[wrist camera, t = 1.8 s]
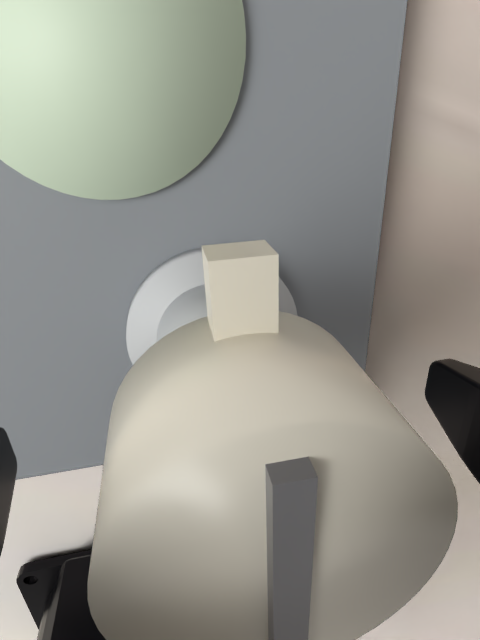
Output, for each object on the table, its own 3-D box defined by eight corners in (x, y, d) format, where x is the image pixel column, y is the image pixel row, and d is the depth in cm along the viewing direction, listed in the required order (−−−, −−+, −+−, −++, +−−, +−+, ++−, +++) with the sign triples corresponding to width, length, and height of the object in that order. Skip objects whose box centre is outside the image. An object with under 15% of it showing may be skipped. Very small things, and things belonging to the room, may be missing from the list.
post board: (345, 400, 16) (432, 525, 11) (-19, 459, 14) (-112, 645, 9) (395, -147, 9) (679, -456, 4) (-301, -188, 7) (-1310, -875, 2)
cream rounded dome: (346, 524, 10) (424, 686, 7) (140, 567, 9) (136, 770, 6) (379, 227, 7) (550, 306, 4) (66, 256, 6) (-11, 382, 3)
